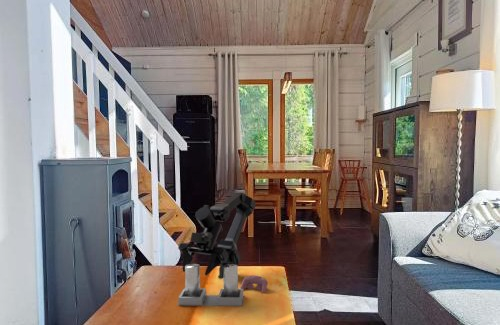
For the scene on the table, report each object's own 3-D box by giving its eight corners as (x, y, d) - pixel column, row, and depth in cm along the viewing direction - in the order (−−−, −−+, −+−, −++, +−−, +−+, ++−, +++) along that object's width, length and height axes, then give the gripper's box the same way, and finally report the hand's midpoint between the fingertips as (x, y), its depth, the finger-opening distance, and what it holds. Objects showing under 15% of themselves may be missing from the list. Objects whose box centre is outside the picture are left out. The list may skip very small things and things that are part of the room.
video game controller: (267, 296, 134) (269, 277, 136) (264, 295, 130) (266, 275, 132) (242, 293, 137) (245, 274, 139) (238, 292, 133) (241, 273, 136)
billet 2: (232, 296, 128) (232, 263, 127) (240, 301, 124) (240, 266, 124) (220, 300, 125) (220, 266, 124) (228, 304, 121) (228, 269, 120)
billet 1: (192, 295, 129) (192, 262, 128) (203, 298, 126) (202, 265, 125) (182, 300, 125) (182, 266, 124) (193, 304, 122) (192, 269, 121)
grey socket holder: (244, 298, 128) (244, 288, 128) (242, 309, 120) (242, 298, 120) (183, 297, 130) (183, 288, 130) (177, 308, 121) (177, 297, 121)
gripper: (180, 221, 134) (162, 258, 125) (224, 225, 126) (208, 265, 117) (192, 237, 142) (176, 273, 132) (234, 241, 134) (220, 280, 124)
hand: (194, 273), depth 126 cm, fingers open, 9 cm apart
